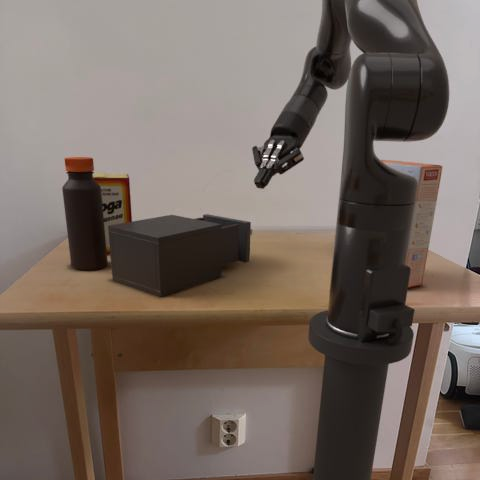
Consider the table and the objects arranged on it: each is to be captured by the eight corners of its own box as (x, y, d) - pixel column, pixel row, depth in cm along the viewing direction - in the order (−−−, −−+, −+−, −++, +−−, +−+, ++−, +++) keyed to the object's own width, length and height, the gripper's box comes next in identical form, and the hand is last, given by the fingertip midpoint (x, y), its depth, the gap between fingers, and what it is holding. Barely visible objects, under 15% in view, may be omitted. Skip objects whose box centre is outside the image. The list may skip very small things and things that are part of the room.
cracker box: (423, 285, 87) (445, 164, 79) (401, 291, 84) (420, 165, 76) (366, 266, 98) (380, 158, 90) (344, 270, 95) (357, 158, 87)
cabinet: (173, 263, 97) (171, 214, 93) (221, 277, 90) (221, 224, 86) (112, 280, 87) (107, 225, 83) (160, 297, 79) (158, 237, 75)
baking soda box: (132, 245, 110) (127, 172, 104) (134, 252, 104) (129, 175, 98) (89, 247, 108) (81, 172, 102) (88, 254, 102) (80, 176, 96)
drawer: (220, 247, 106) (220, 211, 103) (262, 257, 99) (264, 219, 96) (158, 264, 93) (156, 223, 90) (202, 276, 87) (202, 232, 84)
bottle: (71, 262, 96) (58, 156, 89) (106, 260, 99) (97, 156, 91) (71, 272, 91) (58, 159, 83) (109, 269, 93) (99, 159, 85)
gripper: (263, 109, 107) (226, 171, 102) (315, 109, 99) (277, 176, 95) (276, 134, 112) (241, 194, 108) (326, 137, 105) (291, 201, 101)
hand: (258, 185), depth 102 cm, fingers closed
